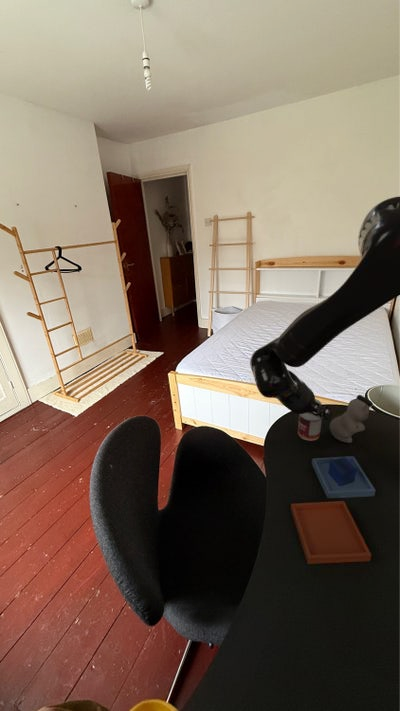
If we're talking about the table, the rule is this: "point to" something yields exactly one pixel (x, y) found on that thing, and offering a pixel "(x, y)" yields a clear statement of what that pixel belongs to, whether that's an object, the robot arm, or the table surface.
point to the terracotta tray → (329, 533)
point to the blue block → (342, 471)
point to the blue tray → (333, 490)
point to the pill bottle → (309, 426)
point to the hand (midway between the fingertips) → (313, 411)
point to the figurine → (351, 419)
